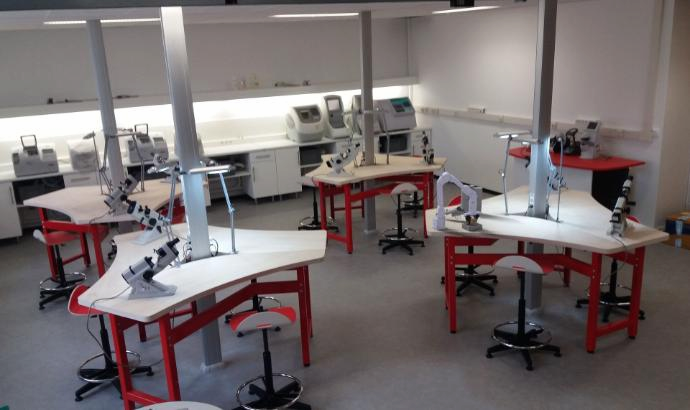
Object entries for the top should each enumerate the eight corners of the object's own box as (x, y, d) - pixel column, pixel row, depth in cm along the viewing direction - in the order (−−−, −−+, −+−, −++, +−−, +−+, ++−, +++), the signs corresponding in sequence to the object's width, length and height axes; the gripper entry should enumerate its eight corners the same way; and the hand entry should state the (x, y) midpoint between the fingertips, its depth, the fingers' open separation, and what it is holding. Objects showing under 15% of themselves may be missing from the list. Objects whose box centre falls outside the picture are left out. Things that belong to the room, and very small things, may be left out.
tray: (469, 231, 436) (469, 226, 435) (461, 227, 445) (461, 223, 444) (482, 229, 440) (482, 224, 439) (474, 225, 449) (475, 221, 449)
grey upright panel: (461, 214, 482) (462, 185, 476) (460, 213, 487) (461, 184, 481) (482, 214, 482) (483, 185, 476) (480, 212, 487) (481, 184, 481)
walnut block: (470, 227, 440) (471, 220, 438) (467, 226, 444) (467, 218, 443) (476, 226, 441) (476, 219, 440) (472, 225, 446) (472, 217, 444)
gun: (469, 221, 458) (463, 204, 458) (440, 230, 472) (433, 213, 471) (471, 219, 463) (465, 202, 462) (442, 228, 477) (435, 212, 476)
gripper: (467, 209, 432) (467, 226, 436) (483, 207, 437) (483, 224, 441) (462, 207, 439) (461, 224, 442) (478, 205, 444) (477, 221, 447)
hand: (472, 224), depth 442 cm, fingers closed on walnut block, 5 cm apart
